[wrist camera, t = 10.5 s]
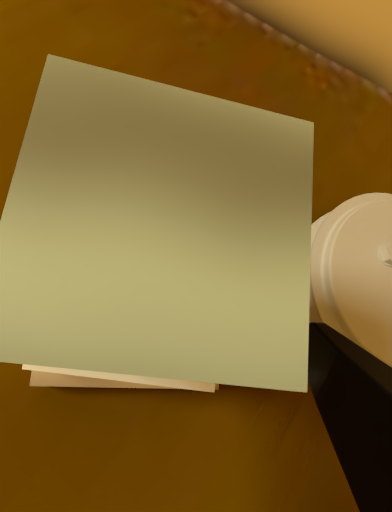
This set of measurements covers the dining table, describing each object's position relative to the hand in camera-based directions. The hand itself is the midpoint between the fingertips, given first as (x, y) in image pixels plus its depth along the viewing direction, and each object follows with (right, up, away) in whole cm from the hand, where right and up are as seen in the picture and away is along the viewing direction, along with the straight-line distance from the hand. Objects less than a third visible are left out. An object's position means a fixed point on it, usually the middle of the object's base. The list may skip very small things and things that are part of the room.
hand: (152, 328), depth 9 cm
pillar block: (-2, 0, +8) cm, 8 cm away
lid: (+14, -1, +16) cm, 21 cm away
